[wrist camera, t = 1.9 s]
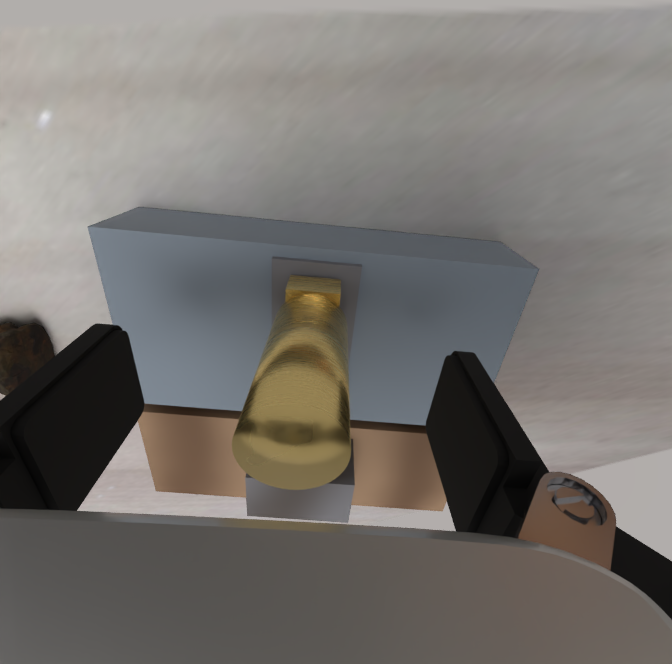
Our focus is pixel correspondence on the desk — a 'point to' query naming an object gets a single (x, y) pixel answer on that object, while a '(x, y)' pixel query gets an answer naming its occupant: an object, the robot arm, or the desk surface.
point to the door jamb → (267, 501)
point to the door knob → (299, 393)
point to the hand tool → (22, 353)
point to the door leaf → (269, 295)
